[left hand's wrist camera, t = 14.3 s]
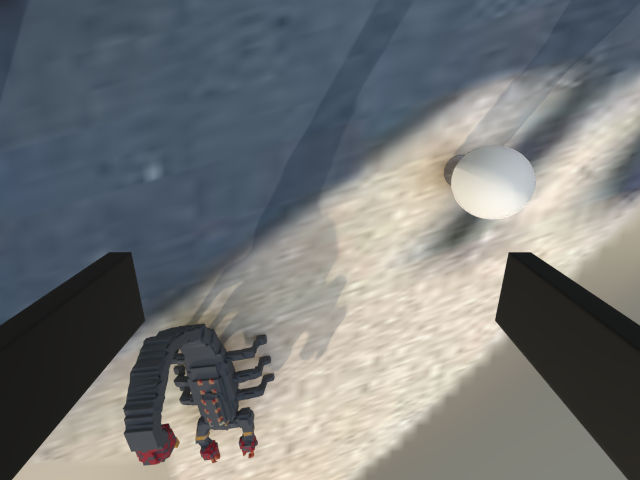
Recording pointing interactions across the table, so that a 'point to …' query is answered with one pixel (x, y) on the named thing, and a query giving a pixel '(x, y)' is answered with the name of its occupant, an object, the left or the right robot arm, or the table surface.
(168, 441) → the toy
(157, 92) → the table surface
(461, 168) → the light bulb
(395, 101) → the table surface
